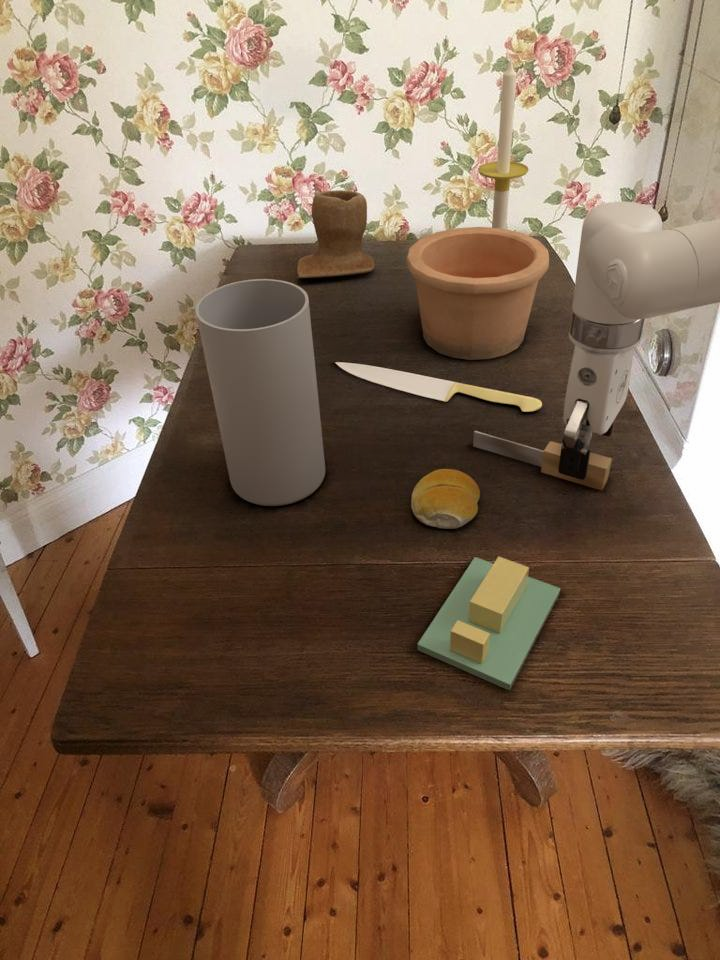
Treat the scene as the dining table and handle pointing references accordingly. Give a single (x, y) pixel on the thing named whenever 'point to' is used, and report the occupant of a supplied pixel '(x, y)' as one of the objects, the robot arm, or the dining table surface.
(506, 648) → the butter dish
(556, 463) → the wooden handled knife
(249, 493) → the cylinder vase
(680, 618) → the dining table surface
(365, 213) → the stone cup
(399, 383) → the knife
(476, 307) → the pottery
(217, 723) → the dining table surface
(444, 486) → the bread roll
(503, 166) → the candle
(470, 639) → the butter slice
